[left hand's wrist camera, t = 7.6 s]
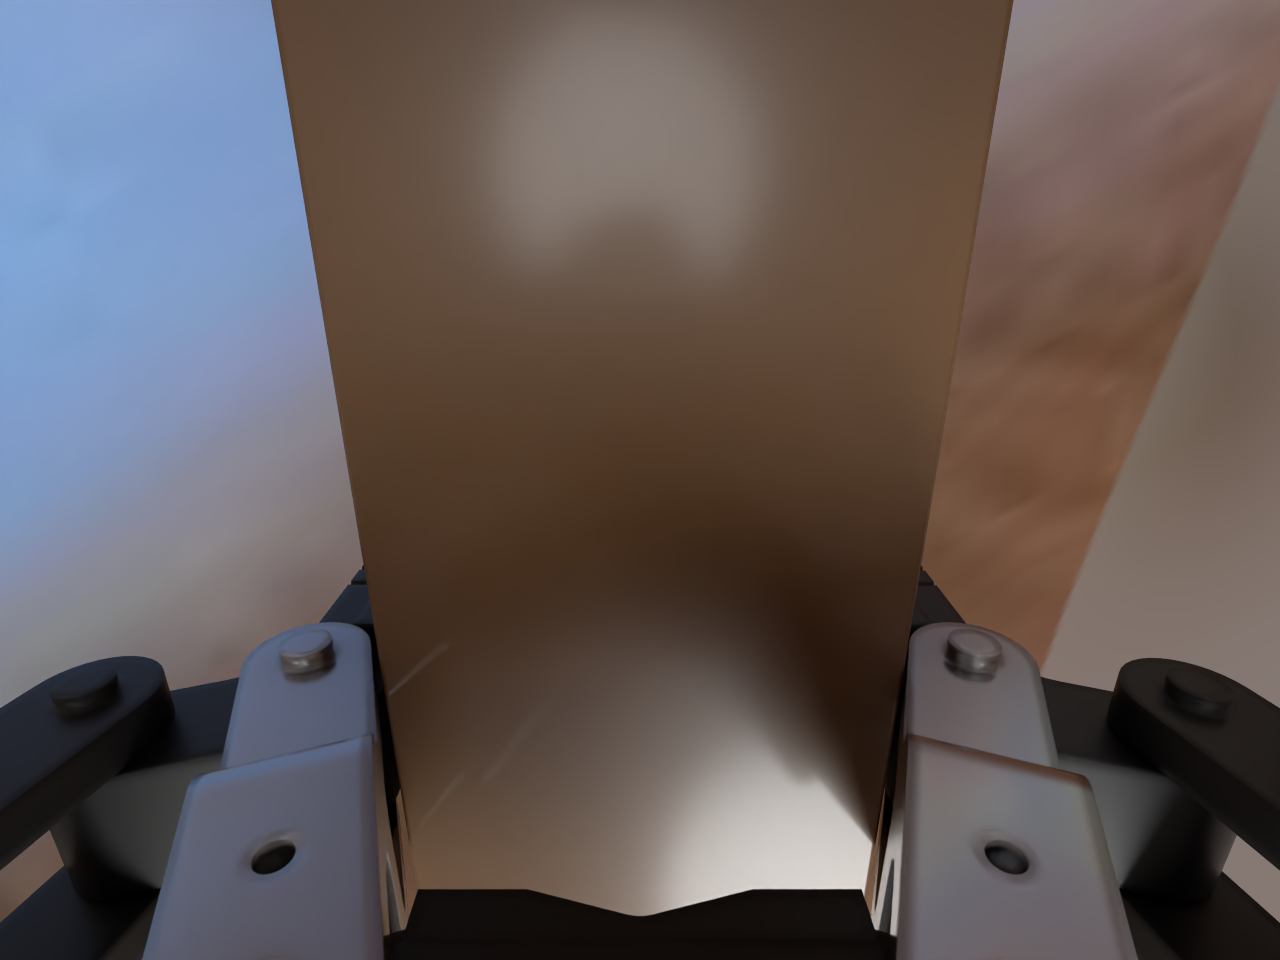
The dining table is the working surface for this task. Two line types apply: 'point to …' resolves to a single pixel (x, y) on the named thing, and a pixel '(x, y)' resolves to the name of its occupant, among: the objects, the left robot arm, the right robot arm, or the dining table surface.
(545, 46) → the bar
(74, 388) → the dining table surface
